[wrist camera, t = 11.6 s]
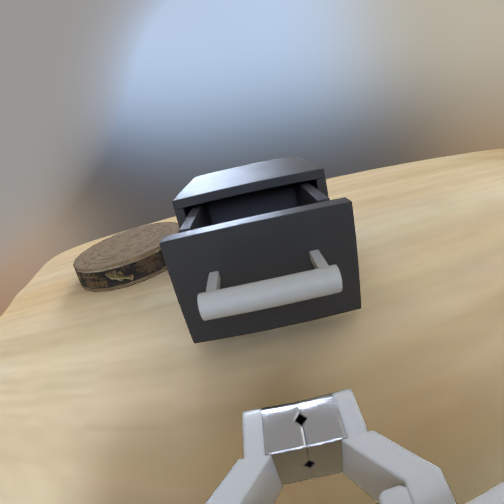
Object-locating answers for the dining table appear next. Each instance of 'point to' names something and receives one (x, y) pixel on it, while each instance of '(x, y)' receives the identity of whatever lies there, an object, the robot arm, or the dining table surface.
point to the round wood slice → (124, 258)
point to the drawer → (264, 261)
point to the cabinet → (247, 182)
